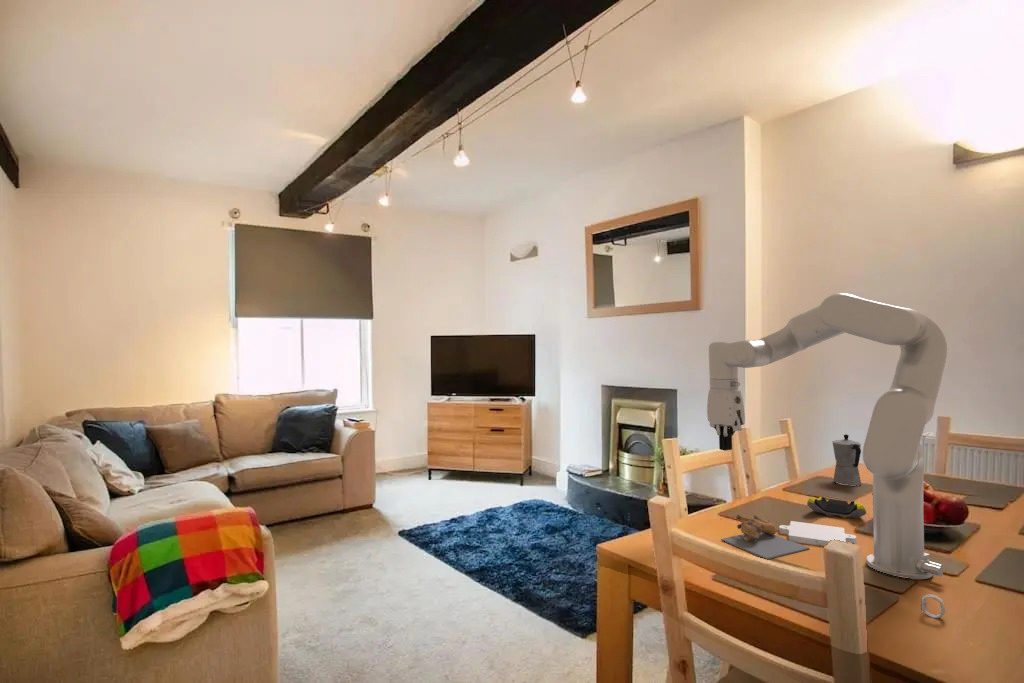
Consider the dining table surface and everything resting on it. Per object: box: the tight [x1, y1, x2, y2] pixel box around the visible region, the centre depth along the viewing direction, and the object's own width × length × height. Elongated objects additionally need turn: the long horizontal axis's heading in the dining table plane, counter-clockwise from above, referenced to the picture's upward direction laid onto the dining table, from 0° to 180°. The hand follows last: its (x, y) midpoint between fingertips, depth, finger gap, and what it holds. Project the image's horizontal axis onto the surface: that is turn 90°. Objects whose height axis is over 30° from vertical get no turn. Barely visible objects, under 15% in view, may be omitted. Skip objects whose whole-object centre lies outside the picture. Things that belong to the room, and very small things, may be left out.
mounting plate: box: [778, 520, 857, 547], centre depth 146 cm, size 18×13×2 cm
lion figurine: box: [736, 514, 778, 542], centre depth 146 cm, size 15×5×9 cm
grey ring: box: [920, 593, 946, 619], centre depth 103 cm, size 4×2×4 cm, turn 47°
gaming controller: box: [807, 496, 867, 519], centre depth 163 cm, size 15×6×10 cm
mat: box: [720, 532, 810, 560], centre depth 141 cm, size 14×15×1 cm
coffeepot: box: [831, 433, 862, 486], centre depth 198 cm, size 15×9×18 cm, turn 175°
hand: (725, 449), depth 154 cm, fingers closed
